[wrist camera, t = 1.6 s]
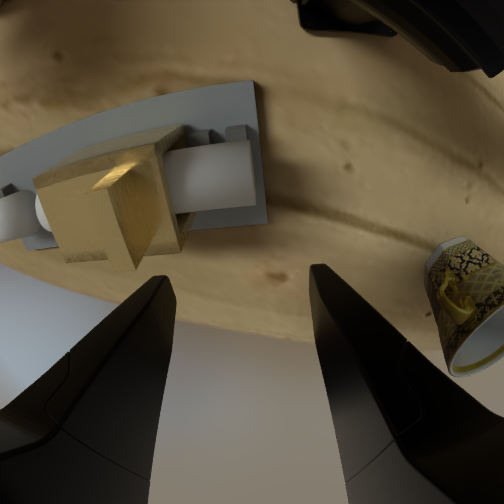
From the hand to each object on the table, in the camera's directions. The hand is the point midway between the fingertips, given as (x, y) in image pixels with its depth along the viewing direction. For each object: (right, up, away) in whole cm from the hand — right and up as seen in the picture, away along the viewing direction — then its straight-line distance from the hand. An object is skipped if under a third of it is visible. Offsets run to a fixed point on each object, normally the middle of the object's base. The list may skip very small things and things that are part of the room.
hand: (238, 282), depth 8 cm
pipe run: (-11, +6, +12) cm, 17 cm away
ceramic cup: (+18, 0, +15) cm, 24 cm away
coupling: (-8, +6, +10) cm, 14 cm away
